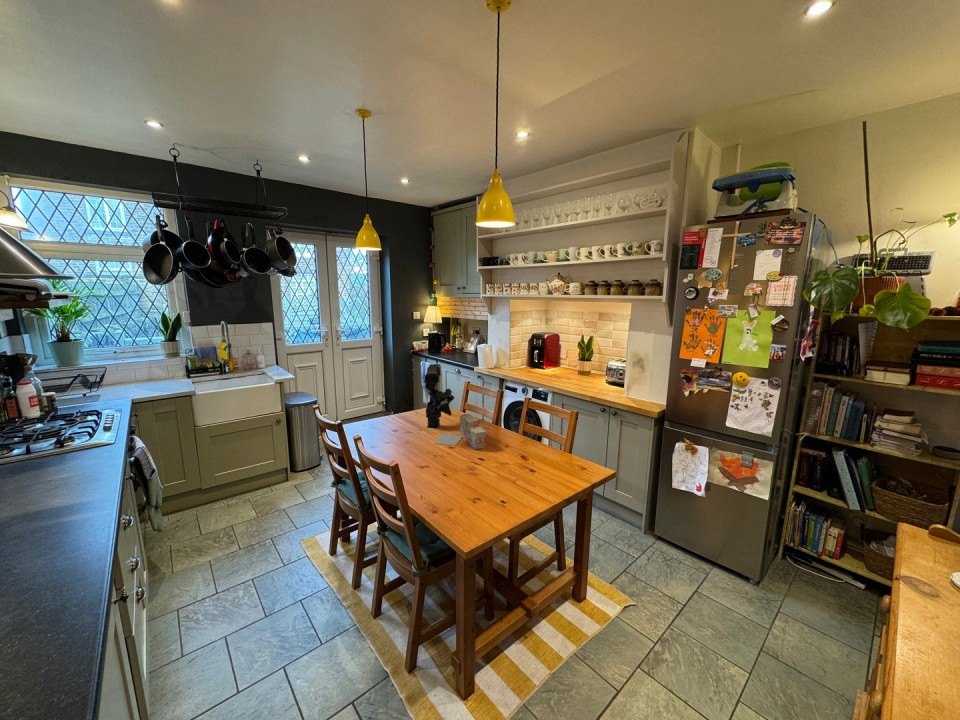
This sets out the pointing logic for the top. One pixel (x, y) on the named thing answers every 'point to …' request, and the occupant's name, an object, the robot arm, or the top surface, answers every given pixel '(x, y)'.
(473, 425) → the stack of blocks
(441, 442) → the grey rubber mat
